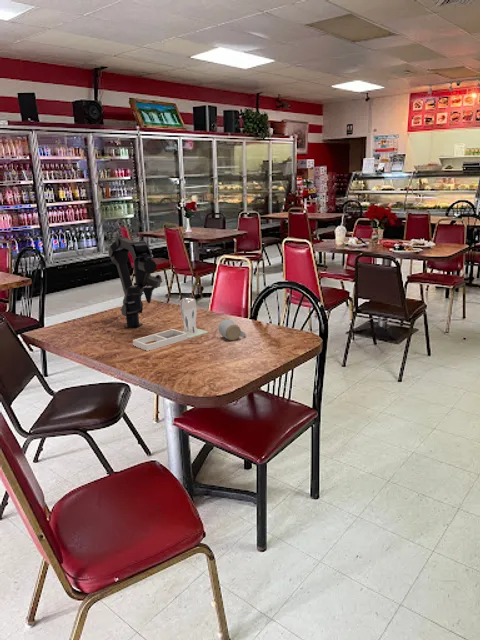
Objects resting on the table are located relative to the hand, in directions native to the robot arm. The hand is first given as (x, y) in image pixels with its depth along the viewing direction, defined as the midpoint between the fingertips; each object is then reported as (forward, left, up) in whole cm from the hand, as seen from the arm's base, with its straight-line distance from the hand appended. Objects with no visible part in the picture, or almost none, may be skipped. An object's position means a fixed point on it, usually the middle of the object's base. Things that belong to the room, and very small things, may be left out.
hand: (144, 305), depth 214 cm
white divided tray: (+6, +15, -13) cm, 21 cm away
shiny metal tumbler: (-2, +20, -13) cm, 24 cm away
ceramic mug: (+1, +41, -13) cm, 43 cm away
